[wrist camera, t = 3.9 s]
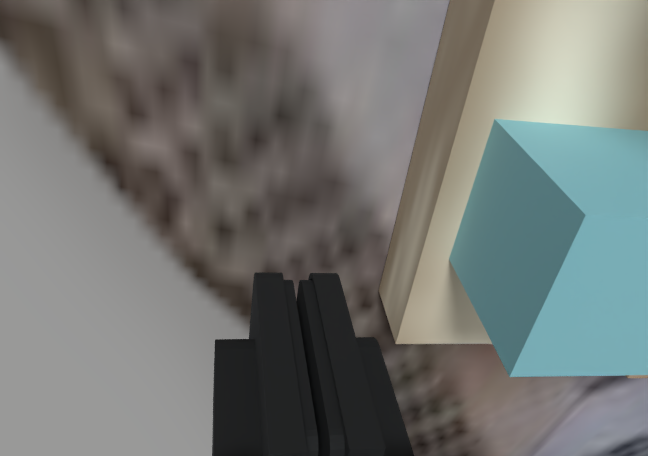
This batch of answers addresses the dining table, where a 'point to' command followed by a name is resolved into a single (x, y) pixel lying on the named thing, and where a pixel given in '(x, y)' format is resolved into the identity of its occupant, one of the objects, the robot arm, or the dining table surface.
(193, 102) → the dining table surface
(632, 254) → the teal cube
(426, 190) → the board
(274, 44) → the dining table surface
